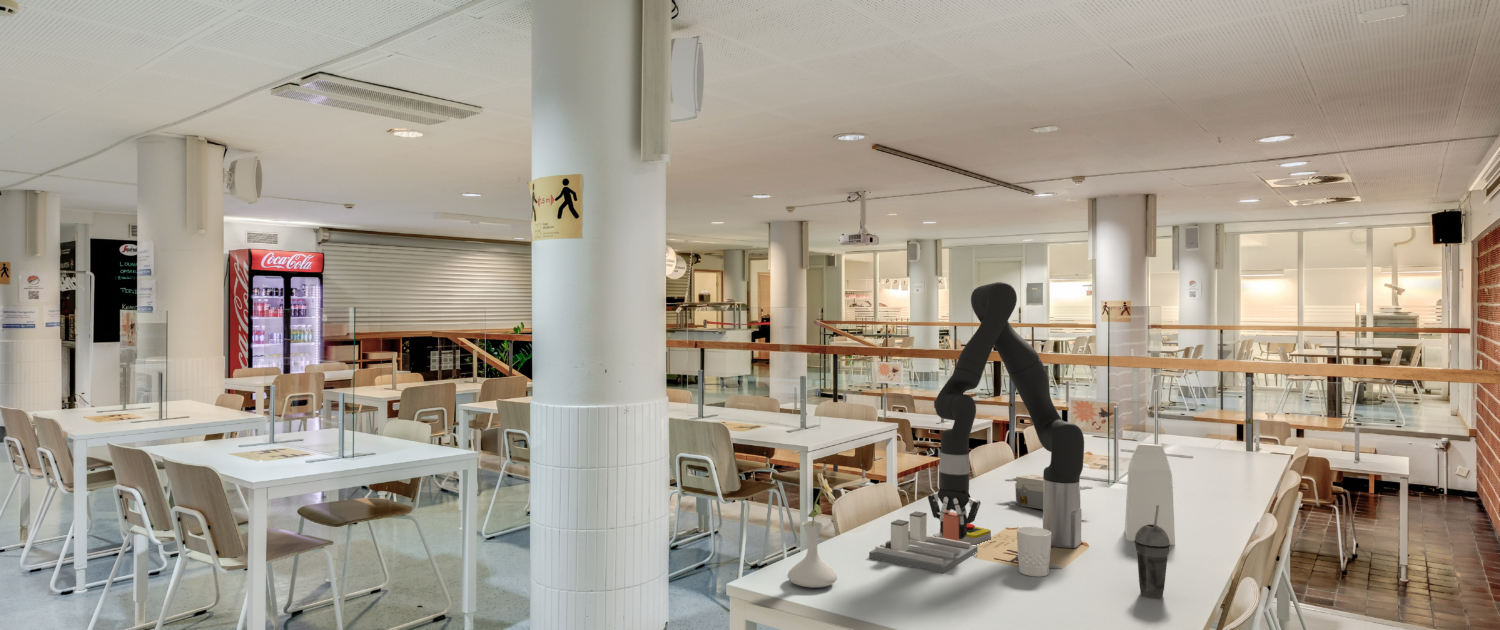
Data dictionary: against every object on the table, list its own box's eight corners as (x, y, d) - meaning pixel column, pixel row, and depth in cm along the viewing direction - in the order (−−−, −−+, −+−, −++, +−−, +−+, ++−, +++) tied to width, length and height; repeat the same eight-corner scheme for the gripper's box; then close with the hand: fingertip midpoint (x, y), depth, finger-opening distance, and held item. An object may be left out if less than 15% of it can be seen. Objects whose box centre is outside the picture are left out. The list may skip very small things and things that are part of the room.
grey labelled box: (1073, 518, 250) (1072, 485, 250) (1000, 505, 274) (999, 475, 275) (1098, 514, 256) (1097, 481, 256) (1025, 501, 280) (1023, 471, 281)
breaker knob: (908, 550, 211) (908, 521, 211) (901, 553, 208) (901, 524, 208) (897, 548, 213) (898, 519, 213) (890, 551, 210) (890, 522, 210)
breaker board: (977, 552, 216) (977, 537, 216) (943, 573, 198) (943, 557, 198) (906, 539, 228) (907, 524, 228) (869, 557, 210) (869, 542, 210)
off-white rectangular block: (926, 540, 220) (926, 513, 220) (919, 544, 217) (920, 515, 217) (915, 538, 222) (916, 511, 222) (909, 542, 219) (909, 514, 218)
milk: (1126, 540, 229) (1127, 446, 229) (1124, 530, 240) (1125, 440, 239) (1175, 545, 224) (1176, 449, 224) (1171, 534, 235) (1172, 443, 235)
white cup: (1050, 569, 202) (1051, 528, 202) (1051, 579, 194) (1051, 536, 194) (1016, 566, 204) (1017, 525, 204) (1016, 575, 197) (1016, 533, 197)
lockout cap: (957, 540, 211) (958, 517, 211) (942, 538, 213) (943, 514, 213) (963, 537, 214) (964, 514, 214) (949, 534, 216) (949, 511, 216)
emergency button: (978, 532, 221) (931, 521, 232) (978, 549, 221) (931, 537, 232) (997, 526, 227) (950, 516, 238) (997, 542, 227) (950, 531, 238)
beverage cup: (1127, 589, 187) (1128, 501, 187) (1157, 589, 188) (1158, 501, 188) (1145, 601, 180) (1146, 509, 180) (1176, 600, 181) (1178, 509, 181)
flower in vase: (823, 595, 182) (824, 482, 182) (778, 586, 188) (779, 476, 188) (848, 579, 193) (849, 472, 193) (805, 571, 199) (806, 467, 199)
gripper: (986, 471, 212) (985, 538, 212) (934, 465, 221) (933, 529, 221) (975, 476, 206) (974, 545, 206) (922, 469, 215) (921, 535, 215)
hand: (953, 536), depth 213 cm, fingers closed on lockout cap, 4 cm apart
